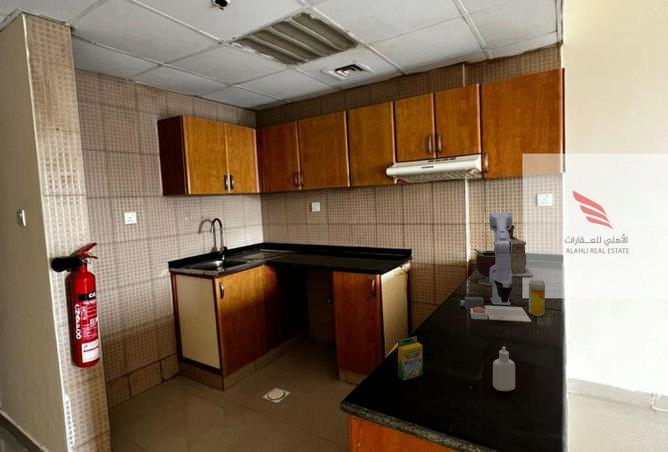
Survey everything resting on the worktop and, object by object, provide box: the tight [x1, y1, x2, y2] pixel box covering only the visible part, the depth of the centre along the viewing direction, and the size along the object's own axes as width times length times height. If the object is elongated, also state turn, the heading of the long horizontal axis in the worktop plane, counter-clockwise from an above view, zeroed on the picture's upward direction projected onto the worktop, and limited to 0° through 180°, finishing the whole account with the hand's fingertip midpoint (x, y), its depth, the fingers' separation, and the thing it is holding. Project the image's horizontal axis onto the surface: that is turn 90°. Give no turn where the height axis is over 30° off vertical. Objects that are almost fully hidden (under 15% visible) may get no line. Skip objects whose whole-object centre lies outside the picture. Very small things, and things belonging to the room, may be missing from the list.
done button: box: [474, 307, 484, 313], centre depth 155 cm, size 4×4×2 cm
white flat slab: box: [484, 305, 532, 323], centre depth 158 cm, size 18×16×1 cm
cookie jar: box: [493, 224, 534, 279], centre depth 229 cm, size 25×25×32 cm
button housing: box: [469, 308, 489, 320], centre depth 155 cm, size 6×6×2 cm
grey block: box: [459, 296, 485, 310], centre depth 166 cm, size 4×10×5 cm, turn 73°
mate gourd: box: [473, 248, 496, 286], centre depth 209 cm, size 16×14×20 cm
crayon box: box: [397, 335, 424, 381], centre depth 108 cm, size 7×3×12 cm, turn 114°
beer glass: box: [528, 278, 546, 317], centre depth 155 cm, size 6×6×15 cm
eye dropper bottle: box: [492, 346, 516, 392], centre depth 99 cm, size 4×6×12 cm
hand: (502, 299), depth 151 cm, fingers open, 7 cm apart
